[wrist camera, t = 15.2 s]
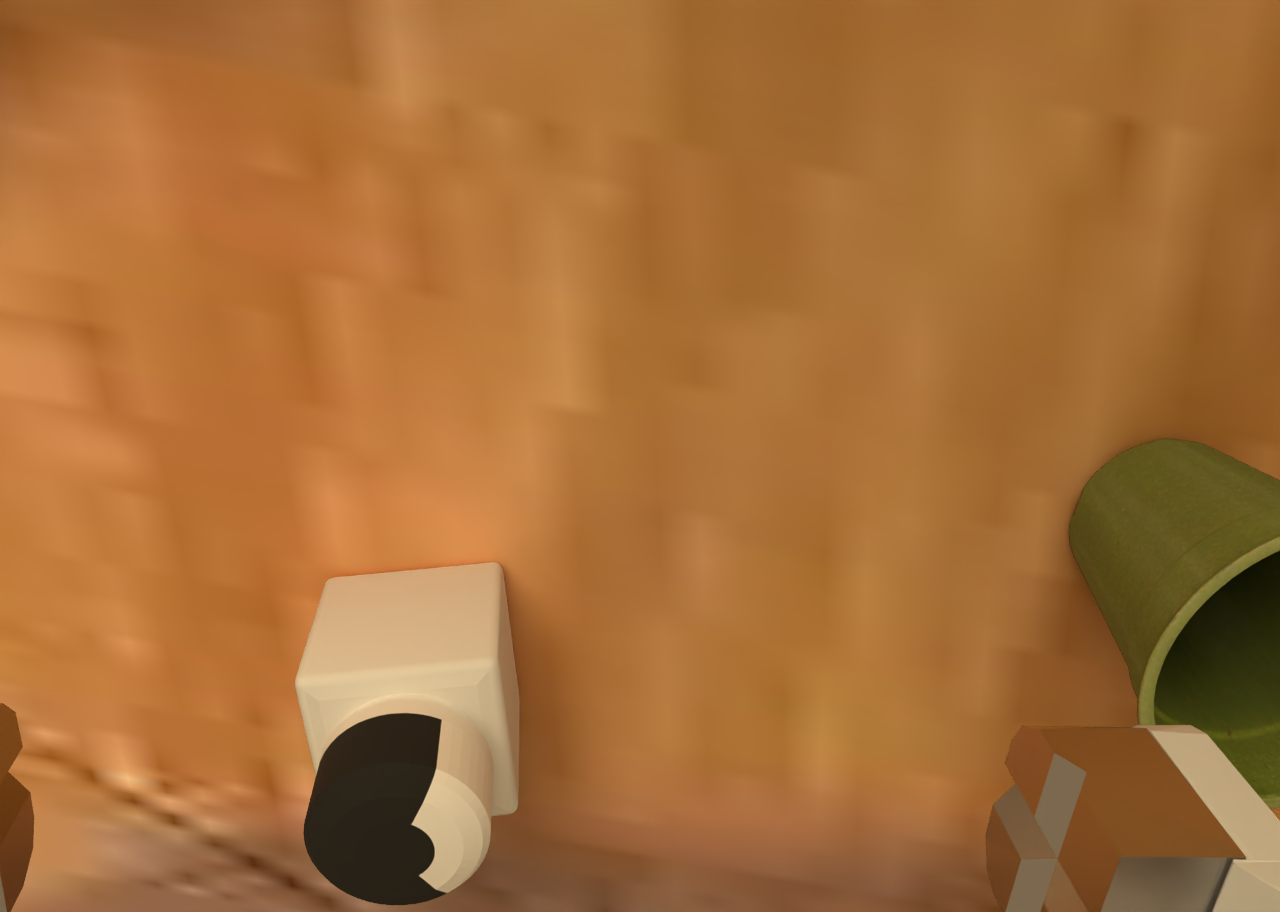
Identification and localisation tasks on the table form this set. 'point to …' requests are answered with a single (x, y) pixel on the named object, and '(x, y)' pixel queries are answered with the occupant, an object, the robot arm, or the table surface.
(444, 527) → the table surface
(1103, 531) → the plant pot
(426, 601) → the medicine bottle
